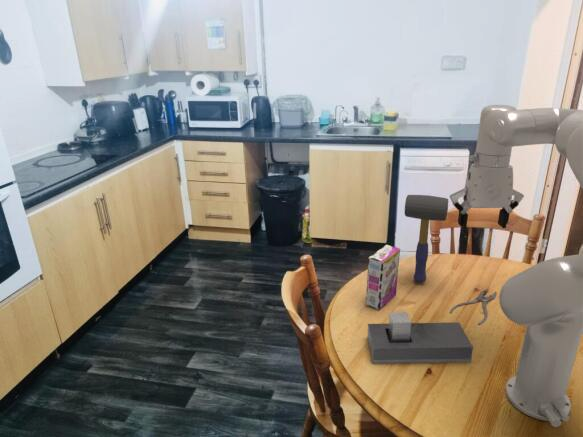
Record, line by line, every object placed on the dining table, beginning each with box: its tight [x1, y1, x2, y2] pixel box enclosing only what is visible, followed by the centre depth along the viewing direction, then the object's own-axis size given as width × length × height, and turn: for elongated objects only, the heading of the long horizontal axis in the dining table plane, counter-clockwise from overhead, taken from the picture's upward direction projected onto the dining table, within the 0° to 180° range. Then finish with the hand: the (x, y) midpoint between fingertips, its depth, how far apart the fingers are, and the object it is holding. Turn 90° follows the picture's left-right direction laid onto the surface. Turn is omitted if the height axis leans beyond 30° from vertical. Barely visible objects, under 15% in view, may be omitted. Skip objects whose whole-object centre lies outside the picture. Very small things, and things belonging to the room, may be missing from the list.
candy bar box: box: [365, 244, 401, 311], centre depth 130 cm, size 11×5×16 cm, turn 141°
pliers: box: [449, 288, 497, 326], centre depth 130 cm, size 10×1×20 cm
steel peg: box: [388, 311, 412, 343], centre depth 110 cm, size 4×4×9 cm
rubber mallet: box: [404, 194, 449, 285], centre depth 136 cm, size 12×8×30 cm, turn 68°
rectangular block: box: [366, 321, 474, 364], centre depth 111 cm, size 10×24×4 cm, turn 89°
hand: (482, 226), depth 108 cm, fingers open, 9 cm apart
